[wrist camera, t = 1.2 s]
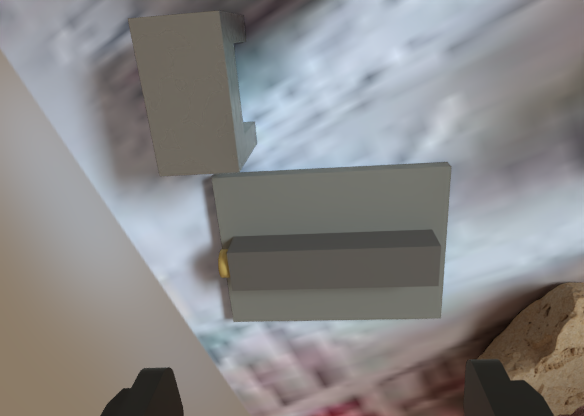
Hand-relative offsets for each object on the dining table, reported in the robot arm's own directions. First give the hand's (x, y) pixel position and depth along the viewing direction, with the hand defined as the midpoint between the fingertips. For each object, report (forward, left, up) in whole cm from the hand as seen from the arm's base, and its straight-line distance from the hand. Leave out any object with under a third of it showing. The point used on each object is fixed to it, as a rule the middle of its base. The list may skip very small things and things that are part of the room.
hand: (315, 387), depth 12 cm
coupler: (+6, 0, -19) cm, 20 cm away
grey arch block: (-6, -7, -19) cm, 21 cm away
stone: (+15, +16, -20) cm, 29 cm away
